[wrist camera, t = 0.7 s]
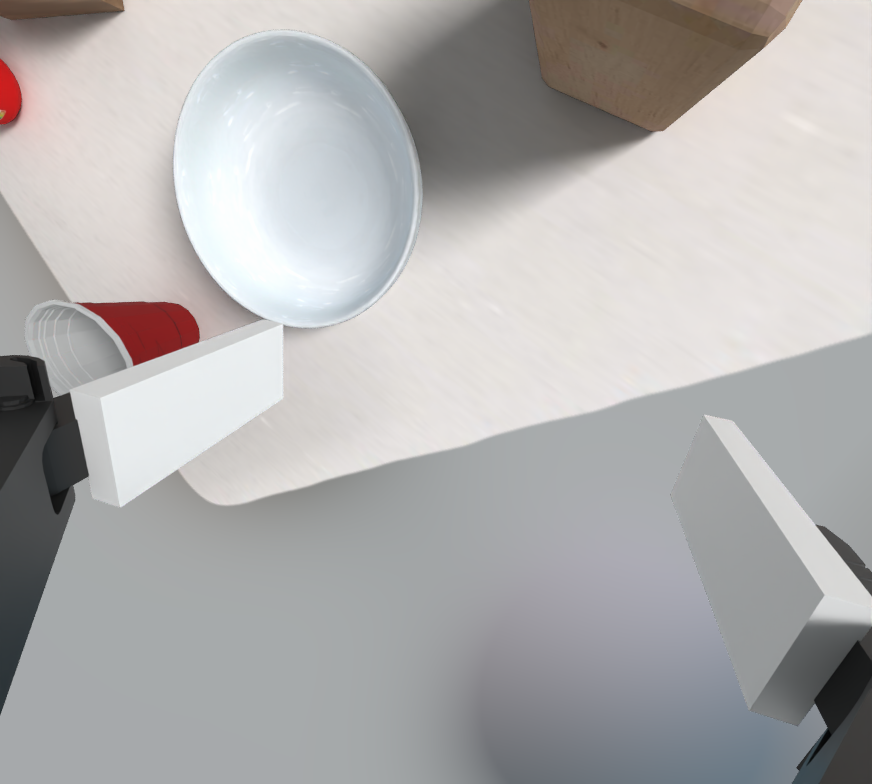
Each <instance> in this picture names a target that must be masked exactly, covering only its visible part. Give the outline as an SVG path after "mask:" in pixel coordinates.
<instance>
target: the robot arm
mask: <svg viewBox="0 0 872 784" xmlns="http://www.w3.org/2000/svg"><path fill="white" fill-rule="evenodd" d="M282 399H283V324H282V323H277V322H273V321H268V320H263V319H262V320H260V321H257V322H254V323H251V324H249V325H246V326H243V327H240V328H238V329H235V330H232V331H229V332H227V333H224V334H221V335H218V336H216V337H213V338H210V339H207V340H205V341H202V342H199V343H196V344H194V345H191V346H188V347H185V348H183V349H180V350H177V351H174V352H172V353H169V354H166V355H163V356H161V357H158V358H155V359H152V360H150V361H147V362H144V363H141V364H139V365H136V366H133V367H130V368H128V369H125V370H122V371H119V372H117V373H114V374H111V375H108V376H106V377H103V378H100V379H97V380H95V381H92V382H89V383H86V384H84V385H81V386H78V387H75V388H73V389H70V392H69V393H66V394H63V395H61V396H58V397H55V398H53V395H52V391H51V386H50V382H49V378H48V373H47V369H46V365H45V361H44V360H42V359H40V358H38V357H32V356H22V355H21V356H20V355H10V356H0V714H1V711H2V709H3V706H4V703H5V700H6V697H7V694H8V691H9V688H10V686H11V683H12V680H13V677H14V674H15V671H16V668H17V666H18V663H19V660H20V657H21V654H22V651H23V648H24V645H25V642H26V640H27V637H28V634H29V631H30V628H31V625H32V622H33V620H34V617H35V614H36V611H37V608H38V605H39V602H40V600H41V597H42V594H43V591H44V588H45V585H46V582H47V579H48V576H49V574H50V571H51V568H52V565H53V562H54V560H55V556H56V554H57V551H58V548H59V545H60V542H61V540H62V536H63V534H64V531H65V528H66V525H67V522H68V519H69V517H70V514H71V511H72V508H73V505H74V502H75V492H74V487H73V485H74V484H76V483H77V482H79V481H81V480H83V479H85V478H86V477H88V480H89V484H90V489H91V493H92V498H93V499H95V500H98V501H101V502H104V503H107V504H110V505H113V506H116V507H119V508H120V507H122V506H124V505H125V504H127V503H128V502H130V501H131V500H133V499H134V498H135V497H137V496H138V495H140V494H141V493H143V492H144V491H146V490H147V489H149V488H150V487H152V486H153V485H155V484H156V483H158V482H159V481H161V480H162V479H164V478H165V477H167V476H168V475H170V474H171V473H173V472H174V471H176V470H177V469H179V468H180V467H182V466H183V465H185V464H186V463H188V462H189V461H191V460H192V459H194V458H195V457H197V456H198V455H200V454H201V453H203V452H204V451H206V450H207V449H209V448H210V447H212V446H213V445H215V444H216V443H218V442H219V441H221V440H222V439H223V438H225V437H226V436H228V435H229V434H231V433H232V432H234V431H235V430H237V429H238V428H240V427H241V426H243V425H244V424H246V423H247V422H249V421H250V420H252V419H253V418H255V417H256V416H258V415H259V414H261V413H262V412H264V411H265V410H267V409H268V408H270V407H271V406H273V405H274V404H276V403H277V402H279V401H280V400H282ZM670 496H671V499H672V501H673V504H674V507H675V510H676V512H677V515H678V518H679V521H680V523H681V526H682V528H683V532H684V534H685V537H686V540H687V542H688V545H689V548H690V550H691V553H692V556H693V559H694V562H695V564H696V567H697V570H698V573H699V575H700V578H701V581H702V583H703V586H704V589H705V592H706V594H707V597H708V600H709V602H710V605H711V608H712V611H713V613H714V616H715V619H716V622H717V624H718V627H719V630H720V633H721V635H722V638H723V641H724V643H725V646H726V649H727V652H728V654H729V657H730V660H731V662H732V665H733V668H734V671H735V674H736V676H737V679H738V682H739V684H740V687H741V690H742V692H743V695H744V698H745V701H746V703H747V706H748V709H749V711H752V712H755V713H758V714H761V715H764V716H767V717H771V718H774V719H777V720H780V721H783V722H786V723H789V724H792V725H795V726H798V725H799V724H800V723H801V721H802V720H803V719H804V717H805V716H806V714H807V713H808V712H809V711H810V709H811V708H812V706H813V705H814V704H816V706H817V707H818V709H819V711H820V713H821V715H822V717H823V719H824V721H825V723H826V725H827V727H828V728H827V729H826V731H825V732H824V733H823V734H822V736H821V737H820V738H819V739H818V741H817V742H816V743H815V745H814V746H813V747H812V748H811V750H810V751H809V752H808V753H807V755H806V756H805V757H804V759H803V760H802V761H801V762H800V764H799V765H798V766H797V769H798V770H799V772H798V774H797V776H796V777H795V779H794V781H793V782H792V784H872V572H871V571H870V570H869V569H868V568H865V564H864V563H863V561H862V560H861V559H860V558H859V557H858V555H857V554H856V553H855V552H854V551H853V550H852V548H851V547H850V546H849V545H848V544H846V543H845V542H844V541H843V540H841V539H840V538H839V537H837V536H836V535H835V534H833V533H832V532H831V531H829V530H828V529H827V528H825V527H823V526H819V525H815V524H814V523H813V521H812V520H811V519H810V518H809V516H808V515H807V514H806V513H805V512H804V510H803V509H802V508H801V507H800V505H799V504H798V503H797V501H796V500H795V499H794V497H793V496H792V495H791V494H790V492H789V491H788V490H787V489H786V488H785V486H784V485H783V484H782V482H781V481H780V480H779V479H778V477H777V476H776V475H775V473H773V471H772V470H771V469H770V467H769V466H768V465H767V463H766V462H765V461H764V460H763V458H762V457H761V456H760V454H759V453H758V452H757V451H756V449H755V448H754V447H753V446H752V445H751V444H750V442H749V441H748V439H747V438H746V437H745V436H744V434H743V433H742V432H741V430H740V429H739V428H738V427H737V426H736V424H735V423H734V422H733V421H731V420H726V419H722V418H716V417H712V416H708V415H703V417H702V419H701V422H700V424H699V427H698V429H697V432H696V434H695V436H694V438H693V441H692V443H691V446H690V448H689V451H688V453H687V455H686V458H685V460H684V463H683V465H682V467H681V470H680V472H679V475H678V477H677V480H676V482H675V484H674V487H673V489H672V492H671V494H670Z"/></svg>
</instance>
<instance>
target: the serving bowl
mask: <svg viewBox="0 0 872 784" xmlns="http://www.w3.org/2000/svg"><path fill="white" fill-rule="evenodd" d="M173 176H174V188H175V194H176V200H177V204H178V208H179V212H180V216H181V219H182V222H183V225H184V228H185V230H186V233H187V235H188V238H189V240H190V242H191V244H192V246H193V248H194V250H195V252H196V254H197V255H198V257H199V259H200V261H201V262H202V264H203V265H204V267H205V268H206V270H207V271H208V272H209V274H210V275H211V276H212V278H213V279H214V280H215V281H216V282H217V284H218V285H219V286H220V287H221V288H222V289H223V290H224V291H225V292H226V293H227V294H228V295H229V296H230V297H232V298H233V299H234V300H235V301H236V302H238V303H239V304H240V305H242V306H243V307H245V308H246V309H248V310H249V311H251V312H252V313H254V314H256V315H258V316H260V317H262V318H264V319H266V320H269V321H273V322H277V323H282V324H283V325H285V326H289V327H296V328H322V327H328V326H332V325H336V324H339V323H342V322H345V321H347V320H350V319H352V318H354V317H356V316H358V315H359V314H361V313H362V312H364V311H366V310H367V309H368V308H370V307H371V306H372V305H373V304H375V303H376V302H377V301H378V300H379V299H380V298H381V297H382V296H383V295H384V294H385V293H386V292H387V291H388V290H389V289H390V288H391V286H392V285H393V284H394V283H395V281H396V280H397V278H398V277H399V276H400V274H401V273H402V271H403V269H404V267H405V266H406V264H407V262H408V260H409V258H410V255H411V253H412V250H413V248H414V245H415V242H416V238H417V235H418V231H419V226H420V220H421V213H422V196H423V191H422V176H421V169H420V163H419V158H418V154H417V150H416V146H415V143H414V140H413V137H412V134H411V132H410V129H409V127H408V125H407V122H406V120H405V118H404V116H403V114H402V112H401V111H400V109H399V107H398V105H397V104H396V102H395V100H394V99H393V97H392V96H391V94H390V93H389V91H388V89H387V88H386V87H385V85H384V84H383V83H382V82H381V80H380V79H379V78H378V77H377V76H376V75H375V74H374V72H373V71H372V70H371V69H370V68H369V67H368V66H367V65H365V64H364V63H363V62H362V61H361V60H360V59H359V58H357V57H356V56H355V55H354V54H352V53H351V52H349V51H348V50H346V49H345V48H343V47H341V46H340V45H338V44H336V43H334V42H332V41H330V40H328V39H325V38H323V37H320V36H317V35H314V34H311V33H307V32H302V31H295V30H283V29H282V30H269V31H263V32H259V33H255V34H252V35H249V36H246V37H243V38H241V39H239V40H237V41H235V42H233V43H232V44H230V45H229V46H227V47H226V48H225V49H223V50H222V51H221V52H220V53H218V54H217V55H216V56H215V57H214V58H213V59H212V60H211V61H210V62H209V63H208V64H207V65H206V66H205V68H204V69H203V70H202V71H201V73H200V74H199V75H198V77H197V78H196V80H195V82H194V83H193V85H192V87H191V89H190V91H189V93H188V95H187V97H186V99H185V102H184V104H183V107H182V110H181V113H180V116H179V119H178V124H177V128H176V134H175V141H174V151H173Z"/></svg>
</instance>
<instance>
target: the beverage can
mask: <svg viewBox="0 0 872 784" xmlns="http://www.w3.org/2000/svg"><path fill="white" fill-rule="evenodd" d="M21 102H22V98H21V91H20V87H19V84H18V82H17V80H16V78H15V76H14V75H13V73H12V72H11V71H10V69H9V68H8V66H7V65H6V64H5V63H4V62H3V61H2V60H1V59H0V124H7V123H9V122H11V121H12V120H13V119H14V118H15V117H16V115H17V114H18V112H19V110H20V108H21Z"/></svg>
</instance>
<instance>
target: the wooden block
mask: <svg viewBox="0 0 872 784" xmlns="http://www.w3.org/2000/svg"><path fill="white" fill-rule="evenodd" d="M801 2H802V0H529V4H530V10H531V16H532V22H533V28H534V34H535V40H536V45H537V51H538V57H539V63H540V69H541V75H542V79H543V80H544V81H545V83H546V84H547V85H548V86H549V87H551V88H553V89H555V90H557V91H560V92H562V93H564V94H567V95H569V96H571V97H574V98H576V99H578V100H580V101H583V102H585V103H587V104H590V105H592V106H594V107H596V108H599V109H601V110H603V111H606V112H608V113H610V114H613V115H615V116H617V117H619V118H622V119H624V120H626V121H629V122H631V123H633V124H635V125H638V126H640V127H642V128H645V129H647V130H649V131H664V130H665V129H666V128H667V127H669V126H670V125H671V124H672V123H674V122H675V121H676V120H677V119H678V118H680V117H681V116H682V115H683V114H684V113H686V112H687V111H688V110H689V109H690V108H692V107H693V106H694V105H695V104H697V103H698V102H699V101H700V100H701V99H703V98H704V97H705V96H706V95H707V94H709V93H710V92H711V91H712V90H713V89H715V88H716V87H717V86H718V85H720V84H721V83H722V82H723V81H724V80H726V79H727V78H728V77H729V76H730V75H732V74H733V73H734V72H735V71H737V70H738V69H739V68H740V67H741V66H743V65H744V64H745V63H746V62H747V61H749V60H750V59H751V58H752V57H753V56H755V55H756V54H757V53H758V52H760V51H761V50H762V49H763V48H764V47H765V46H766V45H768V44H769V43H770V42H771V41H772V40H773V39H774V38H775V37H776V36H777V35H778V34H780V33H781V32H782V31H783V30H784V29H785V28H786V26H787V25H788V23H789V21H790V20H791V18H792V16H793V15H794V13H795V11H796V10H797V8H798V6H799V5H800V3H801Z"/></svg>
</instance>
